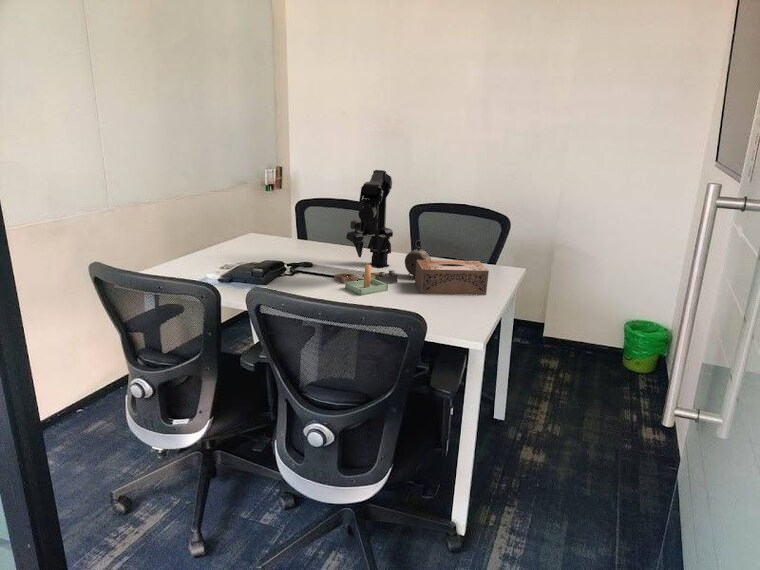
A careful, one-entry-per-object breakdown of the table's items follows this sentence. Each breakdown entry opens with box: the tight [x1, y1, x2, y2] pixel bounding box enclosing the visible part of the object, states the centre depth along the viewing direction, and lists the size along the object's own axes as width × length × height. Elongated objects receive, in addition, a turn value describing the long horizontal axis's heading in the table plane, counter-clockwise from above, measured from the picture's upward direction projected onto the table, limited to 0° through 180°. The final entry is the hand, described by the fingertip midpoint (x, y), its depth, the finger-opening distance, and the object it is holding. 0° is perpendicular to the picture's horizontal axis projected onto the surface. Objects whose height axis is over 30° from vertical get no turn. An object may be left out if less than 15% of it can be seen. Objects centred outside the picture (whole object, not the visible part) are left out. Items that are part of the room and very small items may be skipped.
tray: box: [345, 278, 389, 297], centre depth 219 cm, size 13×10×2 cm
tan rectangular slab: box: [362, 271, 387, 279], centre depth 232 cm, size 10×7×2 cm
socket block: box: [333, 271, 359, 285], centre depth 230 cm, size 7×7×2 cm
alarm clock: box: [404, 239, 432, 280], centre depth 236 cm, size 11×5×16 cm, turn 55°
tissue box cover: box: [414, 259, 490, 296], centre depth 224 cm, size 26×14×10 cm, turn 95°
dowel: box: [363, 264, 372, 288], centre depth 218 cm, size 2×2×9 cm
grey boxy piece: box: [375, 270, 399, 285], centre depth 228 cm, size 9×3×5 cm, turn 127°
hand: (369, 255), depth 223 cm, fingers open, 9 cm apart
